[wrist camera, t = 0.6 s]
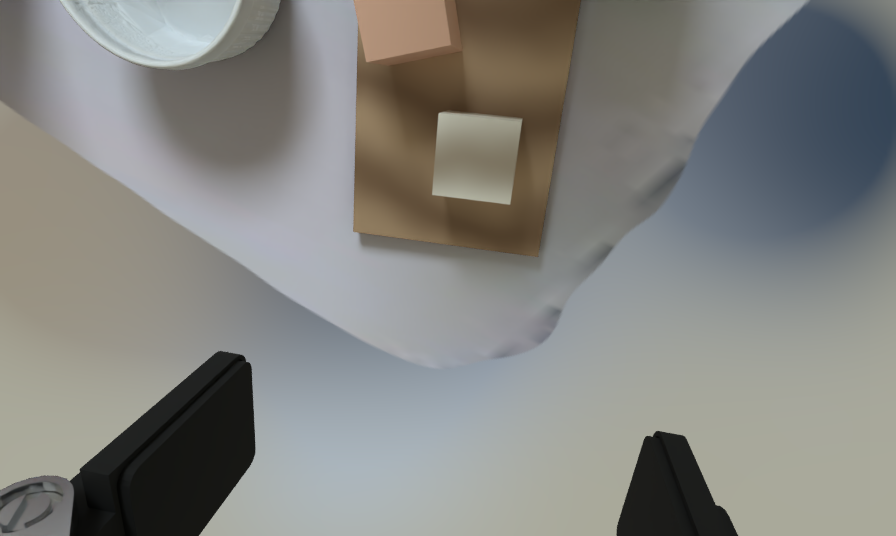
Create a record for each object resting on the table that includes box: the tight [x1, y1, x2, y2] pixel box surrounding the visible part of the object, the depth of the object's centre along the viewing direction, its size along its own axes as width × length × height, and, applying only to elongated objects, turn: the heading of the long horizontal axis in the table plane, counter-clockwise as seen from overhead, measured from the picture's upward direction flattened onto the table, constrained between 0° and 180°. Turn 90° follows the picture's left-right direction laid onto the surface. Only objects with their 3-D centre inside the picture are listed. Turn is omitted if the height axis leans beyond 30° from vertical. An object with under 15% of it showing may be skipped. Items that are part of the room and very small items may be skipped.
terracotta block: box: [354, 0, 462, 66], centre depth 29 cm, size 5×5×5 cm
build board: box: [353, 0, 581, 257], centre depth 32 cm, size 20×14×5 cm
